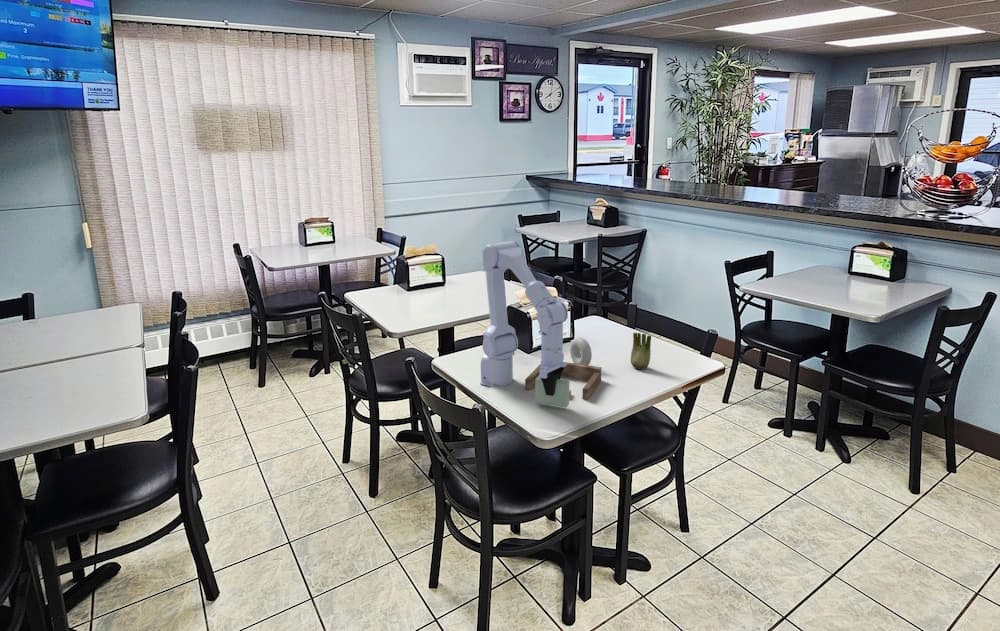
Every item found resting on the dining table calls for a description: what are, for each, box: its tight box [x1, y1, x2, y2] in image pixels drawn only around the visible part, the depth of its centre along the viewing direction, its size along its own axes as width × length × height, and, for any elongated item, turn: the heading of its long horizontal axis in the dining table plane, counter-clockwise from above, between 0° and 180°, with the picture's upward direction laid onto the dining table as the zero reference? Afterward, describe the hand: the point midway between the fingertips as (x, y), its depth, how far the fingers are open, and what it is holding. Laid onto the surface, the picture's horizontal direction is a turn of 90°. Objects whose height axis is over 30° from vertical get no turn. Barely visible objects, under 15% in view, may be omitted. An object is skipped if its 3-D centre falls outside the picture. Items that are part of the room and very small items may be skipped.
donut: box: [569, 336, 593, 366], centre depth 192 cm, size 10×4×10 cm, turn 25°
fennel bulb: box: [630, 332, 652, 370], centre depth 189 cm, size 6×5×12 cm
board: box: [534, 376, 570, 409], centre depth 163 cm, size 9×2×7 cm, turn 66°
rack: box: [524, 361, 603, 401], centre depth 178 cm, size 19×15×5 cm
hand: (551, 392), depth 163 cm, fingers closed on board, 2 cm apart
